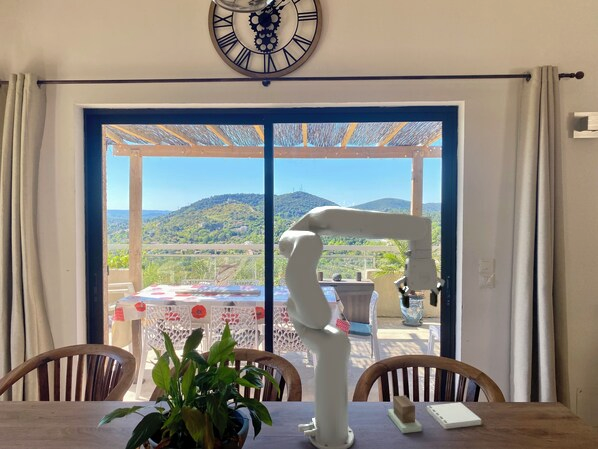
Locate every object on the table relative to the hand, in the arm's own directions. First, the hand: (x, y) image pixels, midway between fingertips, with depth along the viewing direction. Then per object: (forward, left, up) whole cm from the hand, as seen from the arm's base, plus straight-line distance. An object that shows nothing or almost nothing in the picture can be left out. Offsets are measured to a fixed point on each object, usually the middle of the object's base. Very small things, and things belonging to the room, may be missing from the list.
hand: (419, 306), depth 112 cm
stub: (-9, -7, -33) cm, 35 cm away
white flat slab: (+7, -7, -33) cm, 35 cm away
